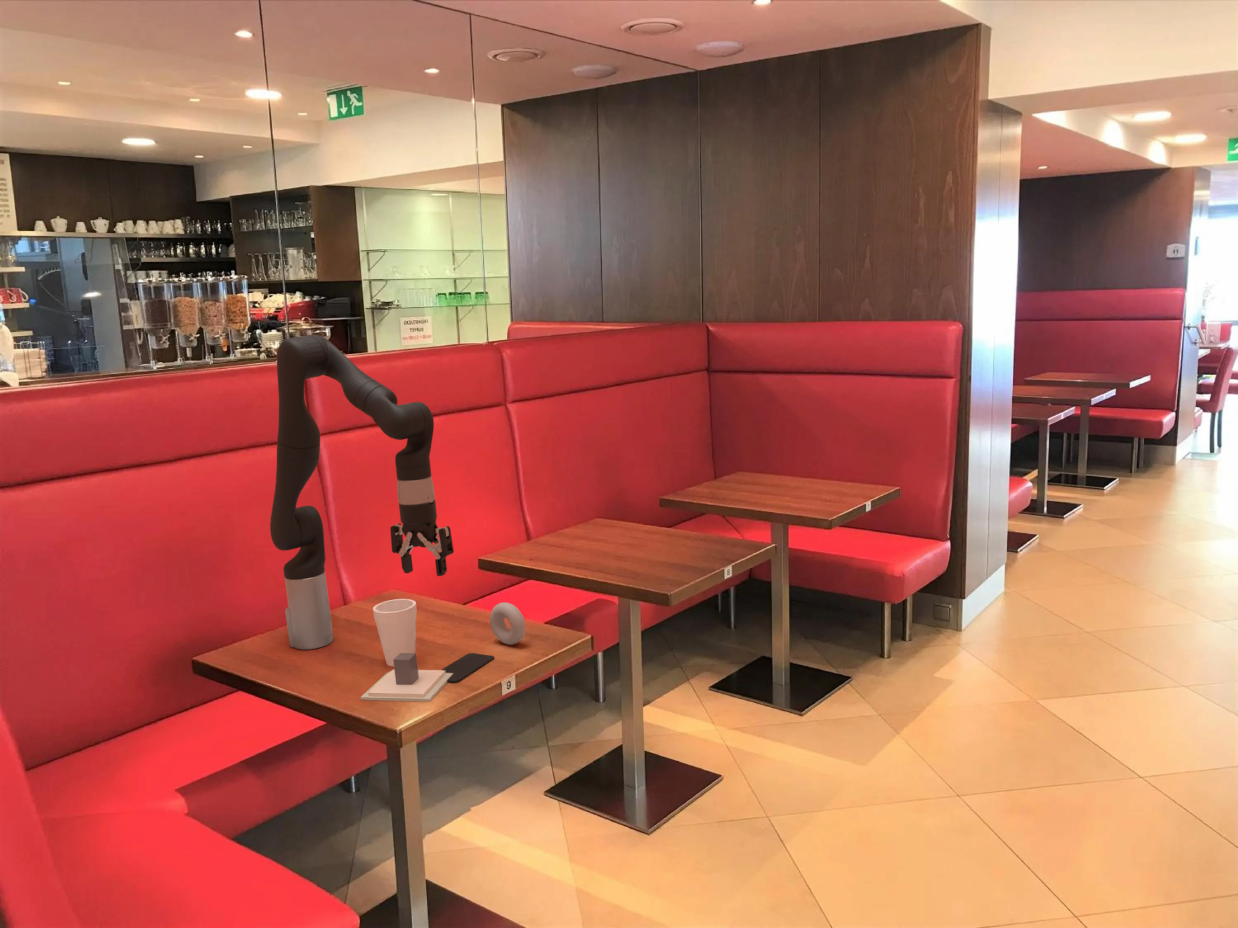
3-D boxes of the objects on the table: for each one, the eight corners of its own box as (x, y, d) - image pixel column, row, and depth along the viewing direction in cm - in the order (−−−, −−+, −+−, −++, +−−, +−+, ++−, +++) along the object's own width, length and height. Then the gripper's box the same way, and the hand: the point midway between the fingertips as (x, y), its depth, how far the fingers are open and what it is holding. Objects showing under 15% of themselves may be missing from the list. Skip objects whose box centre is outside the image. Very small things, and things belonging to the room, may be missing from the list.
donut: (488, 642, 225) (484, 601, 223) (499, 637, 228) (495, 597, 226) (520, 650, 219) (516, 608, 217) (530, 645, 221) (526, 603, 220)
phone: (496, 655, 215) (456, 681, 202) (496, 659, 216) (456, 685, 202) (469, 652, 219) (427, 677, 206) (469, 655, 219) (428, 681, 206)
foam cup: (384, 672, 211) (378, 615, 209) (374, 659, 219) (368, 604, 217) (427, 662, 215) (421, 606, 213) (415, 649, 223) (409, 596, 221)
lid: (368, 696, 198) (364, 667, 196) (393, 672, 209) (390, 645, 208) (423, 697, 195) (420, 668, 194) (445, 673, 207) (442, 645, 205)
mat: (360, 699, 197) (360, 697, 197) (388, 674, 210) (388, 671, 210) (429, 701, 194) (429, 698, 194) (453, 675, 207) (453, 672, 207)
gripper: (377, 501, 201) (386, 576, 204) (433, 504, 195) (442, 581, 198) (400, 494, 208) (408, 566, 211) (455, 496, 202) (463, 570, 205)
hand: (424, 573), depth 204 cm, fingers open, 8 cm apart
